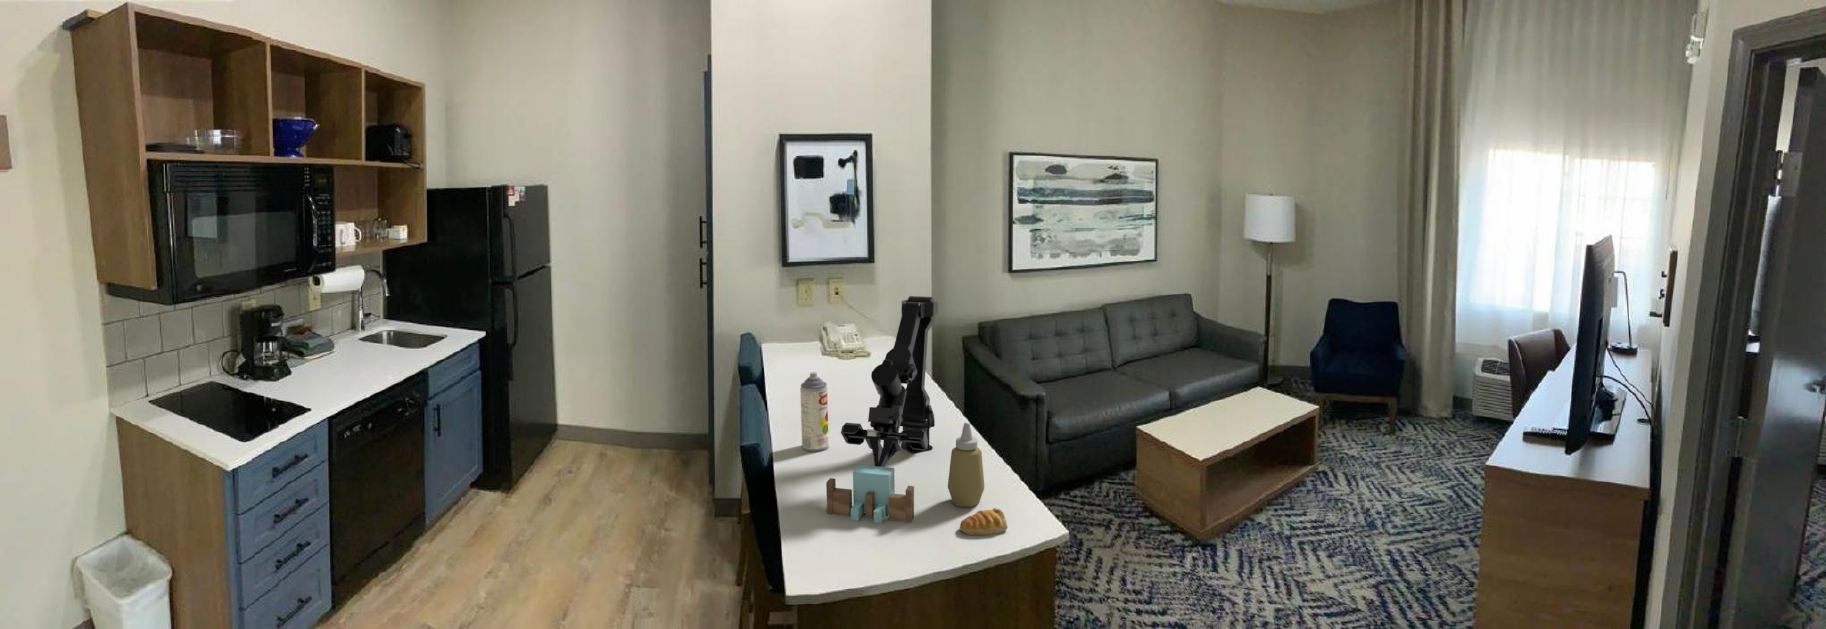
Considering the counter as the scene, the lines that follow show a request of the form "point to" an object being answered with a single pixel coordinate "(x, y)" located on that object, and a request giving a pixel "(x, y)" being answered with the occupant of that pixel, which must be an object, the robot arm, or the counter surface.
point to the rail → (870, 502)
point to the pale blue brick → (875, 481)
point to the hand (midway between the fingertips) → (877, 472)
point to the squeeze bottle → (966, 470)
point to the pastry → (984, 523)
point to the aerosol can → (814, 414)
